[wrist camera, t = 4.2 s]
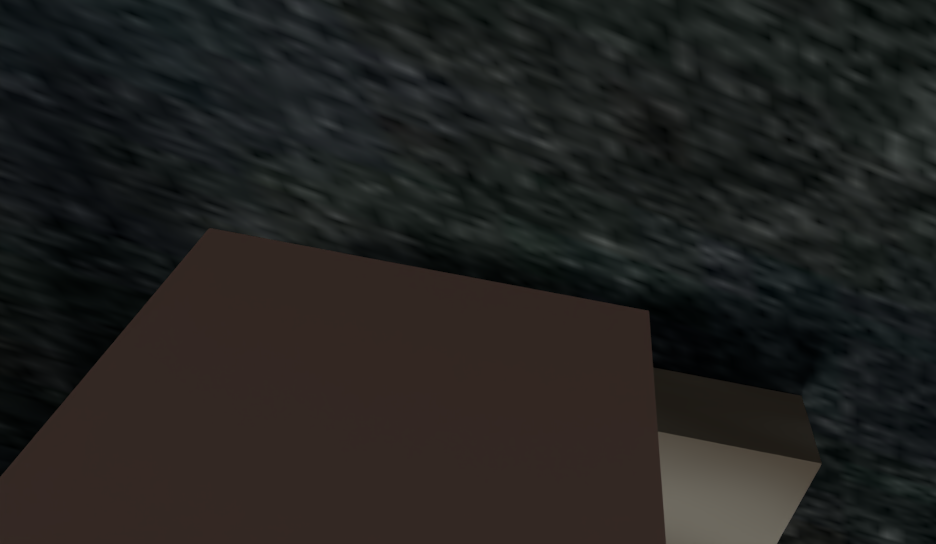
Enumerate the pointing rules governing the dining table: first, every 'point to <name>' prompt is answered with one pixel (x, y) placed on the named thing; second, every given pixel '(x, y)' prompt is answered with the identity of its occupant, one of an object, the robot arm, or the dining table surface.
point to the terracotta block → (349, 413)
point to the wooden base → (730, 459)
